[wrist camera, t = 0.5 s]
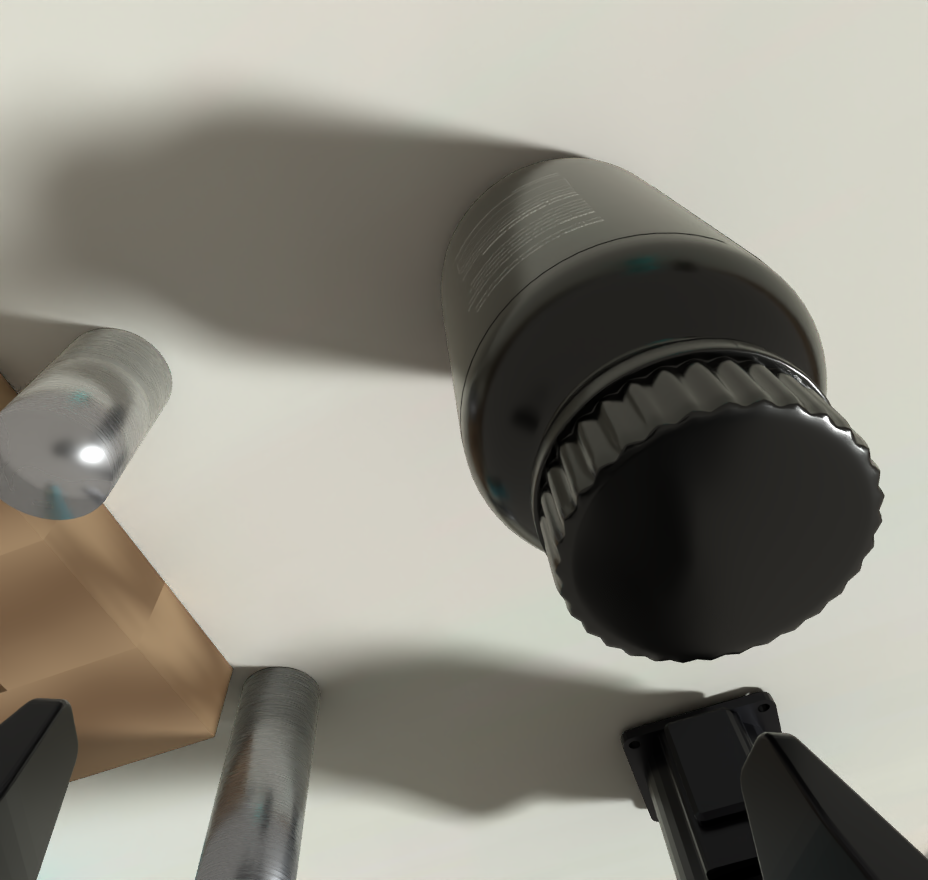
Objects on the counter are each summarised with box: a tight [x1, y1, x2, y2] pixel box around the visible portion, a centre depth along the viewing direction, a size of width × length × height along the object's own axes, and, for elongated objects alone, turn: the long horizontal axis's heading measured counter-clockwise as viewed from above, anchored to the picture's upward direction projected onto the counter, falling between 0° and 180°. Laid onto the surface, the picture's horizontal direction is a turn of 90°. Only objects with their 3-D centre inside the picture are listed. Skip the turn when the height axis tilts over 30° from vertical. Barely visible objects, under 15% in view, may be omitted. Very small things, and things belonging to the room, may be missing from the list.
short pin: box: [0, 328, 172, 520], centre depth 19 cm, size 3×3×5 cm
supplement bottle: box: [441, 158, 884, 663], centre depth 15 cm, size 7×7×12 cm
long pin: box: [195, 667, 320, 880], centre depth 24 cm, size 3×3×9 cm
